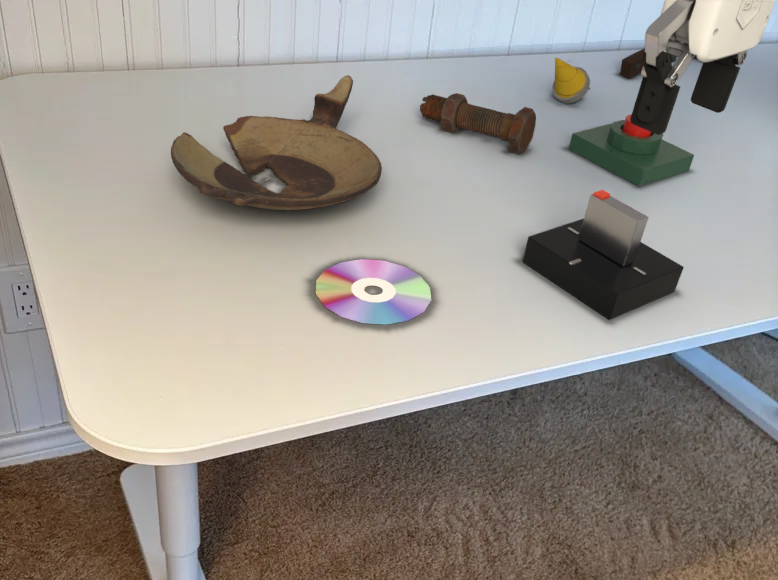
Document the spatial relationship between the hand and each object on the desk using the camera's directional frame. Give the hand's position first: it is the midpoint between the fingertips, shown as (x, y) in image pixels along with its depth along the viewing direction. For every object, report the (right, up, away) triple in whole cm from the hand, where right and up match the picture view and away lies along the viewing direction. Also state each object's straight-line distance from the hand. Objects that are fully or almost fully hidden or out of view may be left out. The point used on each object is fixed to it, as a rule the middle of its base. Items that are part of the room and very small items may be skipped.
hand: (677, 117), depth 72 cm
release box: (+7, +7, +36) cm, 37 cm away
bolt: (-13, +11, +37) cm, 41 cm away
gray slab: (-3, -10, +10) cm, 15 cm away
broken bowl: (-35, 0, +22) cm, 42 cm away
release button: (+7, +10, +33) cm, 35 cm away
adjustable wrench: (+23, +32, +66) cm, 77 cm away
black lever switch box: (-4, -12, +12) cm, 18 cm away
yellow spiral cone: (+2, +20, +49) cm, 53 cm away
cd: (-27, -14, +7) cm, 31 cm away
